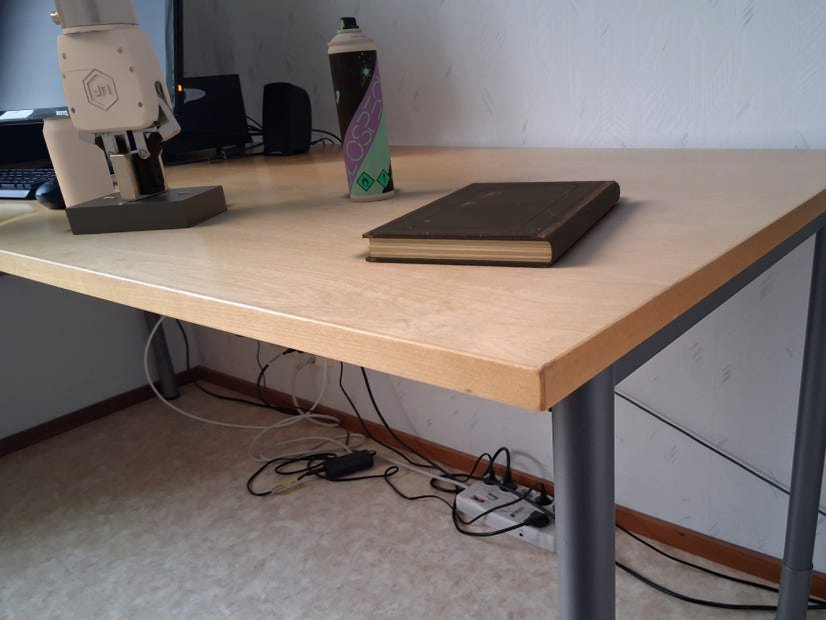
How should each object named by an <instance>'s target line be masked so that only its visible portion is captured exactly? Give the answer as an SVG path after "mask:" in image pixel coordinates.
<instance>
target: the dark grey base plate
mask: <svg viewBox="0 0 826 620" xmlns="http://www.w3.org/2000/svg"><path fill="white" fill-rule="evenodd" d="M168 187H169V191H165V192H162V193H159V194H156V195H152V196H149V197H146V198H143V199H140V200H136V201H122V198H121V194H120V191H115V193H113V194H109V195H106V196H103V197H100V198H96V199H93V200H90V201H87V202H83V203H80V204H77V205H74V206H70V207H65V208H64V210H65V215H66V218H67V220H68V224H69V227H70V231H71V233H72V235H73V236H74V235H90V234H91V235H92V234H106V233H122V232H123V233H126V232H138V231H139V232H140V231H141V232H142V231H157V230H174V229H188V228H191V227H193V226H196V225H198V224H200V223H203V222H204V221H206V220H208V219H210V218H213V217H215V216H217V215H219V214H221V213H223V212H226V211H227V210H228V206H227V205H228V204H227V201H226V196H225V192H224V187H223V185H222V184H218V185H205V186H204V185H203V186H189V187H187V186H186V187H173V188H172V186H168Z"/></svg>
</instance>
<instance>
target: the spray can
mask: <svg viewBox="0 0 826 620" xmlns="http://www.w3.org/2000/svg"><path fill="white" fill-rule="evenodd" d="M339 20H340V26H339V30H337V31H336V35H335V36H334V37H333V38H332V39H331V40H330V41H329V42H327V46H328V50H327V55H328V62H329V68H330V74H331V75H330V76H331V81H332V88H333V95H334V101H335V102H334V103H335V108H336V115H337V120H338V127H339V134H340V135H339V136H340V141H341V146H342V147H341V148H342V153H343V154H342V155H343V160H344V166H345V167H344V168H345V173H346V180H347V187H348V192H349V193H348V194H349V197H350V201H352V202H358V203H360V202H361V203H365V202H375V201H376V202H377V201H383V200H386V199H391V198H394V197H395V195H396V193H395V185H394V179H393V178H394V176H393V170H392V162H391V154H390V153H391V152H390V145H389V137H388V130H387V129H388V128H387V123H386V114H385V107H384V98H383V91H382V83H381V74H380V68H379V67H380V66H379V58H378V51H377V46H376V45H375V39H374V38H371V37H370V36H368V35H367V34H365V33H363V29H362V28H360V26H359V25H357V19H356V17H354V16H344V17H340V19H339Z"/></svg>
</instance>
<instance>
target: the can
mask: <svg viewBox="0 0 826 620" xmlns="http://www.w3.org/2000/svg"><path fill="white" fill-rule="evenodd" d="M42 121H43V129H42V133H43V138H44V141H45V144H46V147H47V150H48V154H49V157H50V160H51V163H52V167H53V169H54V173H55V176H56V179H57V181H58V186H59V188H60V192H61V194H62V199H63V201H64V204H65V206H66V207H65V208H67V207H70V206H74V205H77V204H80V203H83V202H87V201H90V200H93V199H96V198H100V197H103V196H106V195H109V194H113V193H116V189H115V186H114V183H113V179H112V176H111V172H110V168H109V165H108V161H107V158H106V153H105V152H104V151H103V150H102V149H100V148H99V147H98V146H97V145H94V144H91V143H88V142H86V141H83V140H81V139H80V137H79V130H77V129H76V128H75V126H74V125H73V122H72V119H71V116H70V115H65V116H55V117H47V118H42Z"/></svg>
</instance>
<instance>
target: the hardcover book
mask: <svg viewBox="0 0 826 620" xmlns="http://www.w3.org/2000/svg"><path fill="white" fill-rule="evenodd" d="M620 199H621V186H620V183H618V182H617V181H616V180H569V181H568V180H567V181H566V180H564V181H563V180H562V181H560V180H559V181H556V180H555V181H505V182H503V181H501V182H500V181H498V182H497V181H496V182H495V181H494V182H472V183H470V184H468V185H466V186H465V185H464V186H463V187H461V188H459V189H456V190H455V191H452V192H451V193H448V194H446V195H444V196H442V197H439V198H438V199H435V200H433V201H431V202H428V203H427V204H424V205H422V206H420V207H418V208H416V209H414V210H412V211H409V212H407V213H405V214H403V215H401V216H398V217H397V218H395V219H392V220H390V221H388V222H386V223H383V224H381V225H379V226H377V227H375V228H372V229H370V230H368V231H366V232H364V233H362V234H361V238H362V239H368V243H369V244H368V248H367V249H368V250H369V253H370V255H369V256H366V257H365V258H364V259H365V262H368V263H395V264H396V263H398V264H399V263H400V264H427V265H429V264H430V265H454V266H455V265H458V266H459V265H461V266H491V267H516V268H517V267H519V268H548V267H550V266H551V265H552V264H553V263H554V262H555V261H557V260H558V259H559V258H560V257H561V256H562V255H563V253H565V252H566V251H567V250H568V249H569V248H570V247H571V246H573V244H574V243H576V242H577V241H578V240H579V239H580V238H581V237H582V236H583V235H584V234H585V233H586V232H587V231H588V230H589V229H590V228H592V226H593V225H594V224H596V223H597V222H598V221H599V220H600V219H601V218H602V217H603V216H604V215H605V214H606V213H607V212H609V210H610V209H612V207H613V206H615V205H616V204H617V203H618V202H619V200H620Z"/></svg>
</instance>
